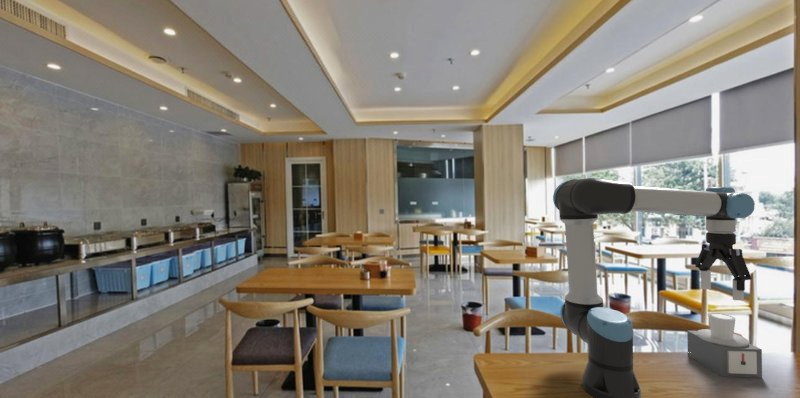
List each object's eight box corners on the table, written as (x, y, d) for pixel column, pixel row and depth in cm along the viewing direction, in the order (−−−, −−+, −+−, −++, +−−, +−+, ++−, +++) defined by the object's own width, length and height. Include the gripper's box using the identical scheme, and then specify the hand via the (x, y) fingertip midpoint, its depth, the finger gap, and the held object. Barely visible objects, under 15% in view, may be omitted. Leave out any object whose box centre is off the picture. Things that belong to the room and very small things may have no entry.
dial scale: (721, 377, 111) (721, 346, 111) (686, 354, 127) (685, 327, 127) (766, 379, 110) (766, 347, 110) (725, 356, 126) (724, 328, 125)
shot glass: (712, 338, 117) (711, 317, 117) (705, 331, 123) (705, 311, 123) (739, 341, 114) (739, 320, 114) (731, 334, 120) (731, 314, 120)
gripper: (767, 236, 106) (767, 305, 106) (704, 228, 130) (705, 285, 131) (740, 236, 107) (740, 305, 107) (683, 228, 131) (683, 284, 131)
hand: (721, 294), depth 119 cm, fingers open, 13 cm apart
